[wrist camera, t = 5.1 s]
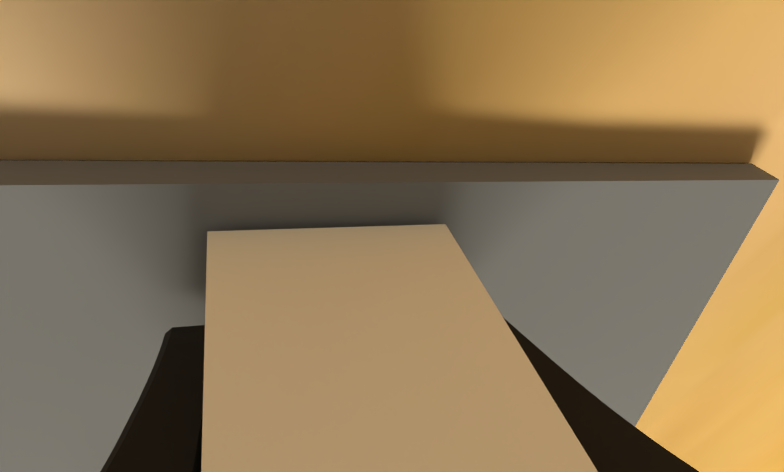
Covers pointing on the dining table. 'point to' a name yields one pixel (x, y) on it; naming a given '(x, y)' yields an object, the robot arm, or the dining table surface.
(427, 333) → the block
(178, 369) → the robot arm
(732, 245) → the mat
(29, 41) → the dining table surface
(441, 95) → the dining table surface
